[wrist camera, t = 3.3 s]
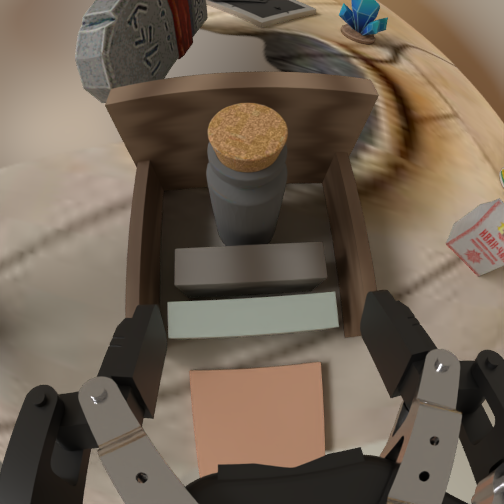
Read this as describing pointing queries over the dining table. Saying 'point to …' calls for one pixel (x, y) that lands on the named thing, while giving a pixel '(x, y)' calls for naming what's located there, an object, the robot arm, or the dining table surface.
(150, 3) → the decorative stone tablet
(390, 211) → the dining table surface
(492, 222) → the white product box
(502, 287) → the dining table surface
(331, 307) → the sage offcut
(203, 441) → the terracotta pad
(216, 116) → the bottle
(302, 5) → the picture frame
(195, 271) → the charcoal offcut
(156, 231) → the walnut rack
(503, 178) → the supplement bottle
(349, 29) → the gemstone
